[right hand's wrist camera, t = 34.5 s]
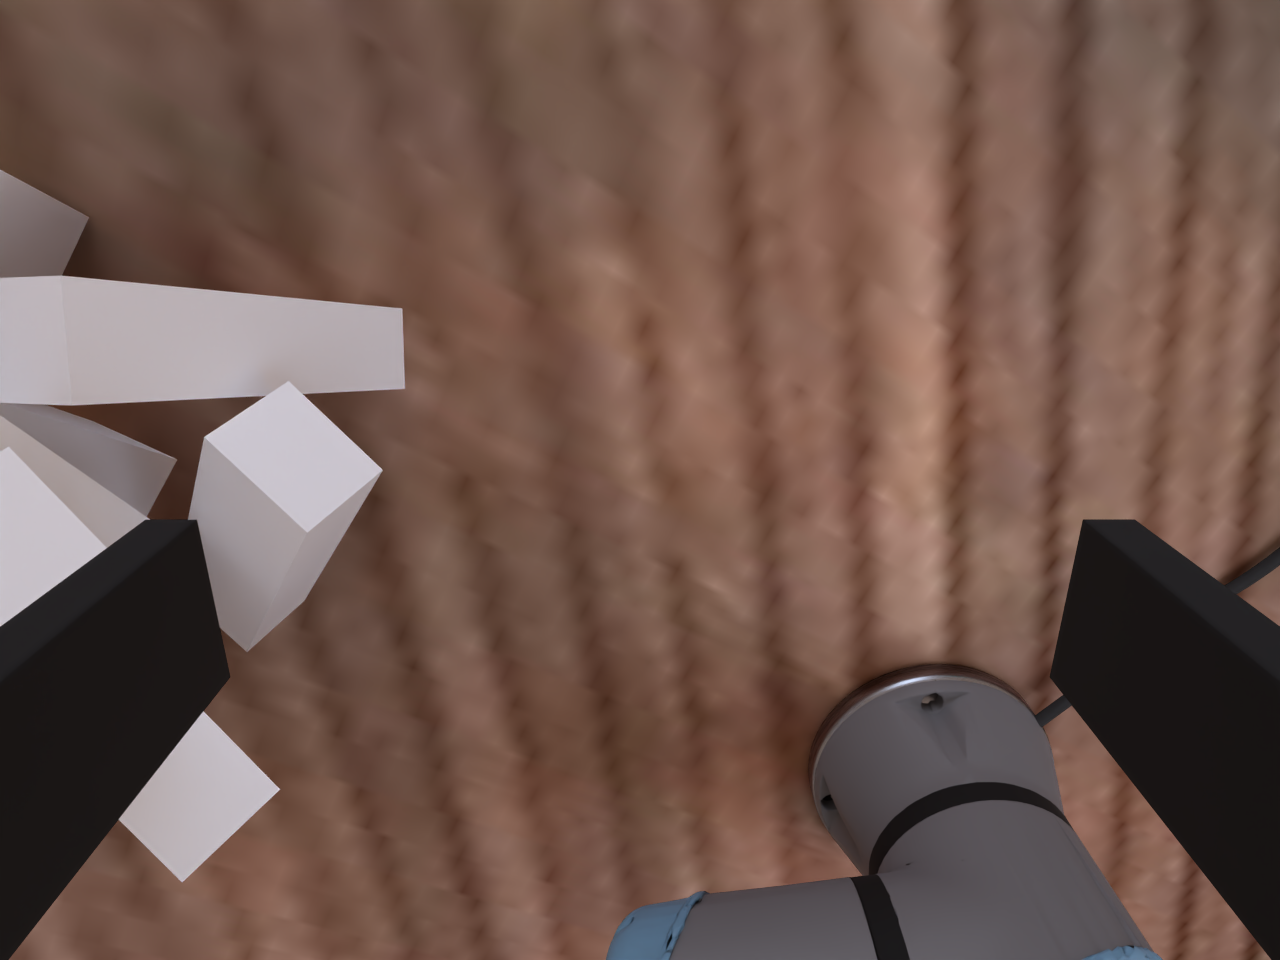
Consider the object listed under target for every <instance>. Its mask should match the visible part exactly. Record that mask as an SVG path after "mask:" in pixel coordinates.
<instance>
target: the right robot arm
mask: <svg viewBox="0 0 1280 960" xmlns="http://www.w3.org/2000/svg"><path fill="white" fill-rule="evenodd" d="M1279 565H1280V547H1279V548H1278V549H1277V550H1276V551H1274V552H1273V553H1272V554H1271V555H1269V556H1268V557H1266V558H1265V559H1264V560H1262V561H1261V562H1260V563H1258V564H1257V565H1255V566H1254V567H1253V568H1251V569H1250V570H1248V571H1247V572H1245V573H1244V574H1242V575H1241V576H1239V577H1238V578H1236V579H1234V580H1233V581H1231V582H1230V583H1228V584H1226V585H1225V586H1224V585H1223V584H1221V583H1220V582H1219V581H1217V580H1216V579H1214V578H1213V577H1212V576H1210V575H1209V574H1208V573H1206V572H1205V571H1204V570H1202V569H1201V568H1200V567H1198V566H1197V565H1196V564H1194V563H1193V562H1191V561H1190V560H1189V559H1187V558H1186V557H1185V556H1183V555H1182V554H1181V553H1179V552H1178V551H1177V550H1175V549H1174V548H1172V547H1171V546H1170V545H1168V544H1167V543H1166V542H1164V541H1163V540H1162V539H1160V538H1159V537H1158V536H1156V535H1155V534H1153V533H1152V532H1151V531H1149V530H1148V529H1147V528H1145V527H1144V526H1143V525H1141V524H1140V523H1139V522H1137V521H1136V520H1083V522H1082V527H1081V531H1080V536H1079V541H1078V546H1077V550H1076V555H1075V560H1074V564H1073V569H1072V574H1071V579H1070V583H1069V588H1068V593H1067V598H1066V602H1065V607H1064V612H1063V617H1062V621H1061V626H1060V631H1059V636H1058V640H1057V645H1056V650H1055V654H1054V659H1053V664H1052V669H1051V673H1050V678H1051V679H1052V681H1053V682H1054V683H1055V684H1056V686H1057V687H1058V688H1059V689H1060V691H1061V692H1062V693H1063V696H1061V697H1060V698H1058V699H1057V700H1056V701H1054V702H1053V703H1052V704H1050V705H1049V706H1048V707H1046V708H1045V709H1043V710H1042V711H1041V712H1039V713H1038V714H1037V715H1035V714H1034V713H1033V711H1032V710H1031V709H1030V707H1029V706H1028V704H1027V703H1026V702H1025V701H1024V699H1023V698H1022V697H1021V696H1020V695H1019V694H1018V693H1017V692H1016V691H1015V690H1014V689H1013V688H1011V687H1010V686H1009V685H1007V684H1006V683H1004V682H1003V681H1001V680H999V679H998V678H996V677H994V676H992V675H990V674H987V673H985V672H982V671H979V670H976V669H972V668H968V667H963V666H956V665H945V664H934V665H921V666H915V667H909V668H905V669H901V670H897V671H894V672H891V673H888V674H885V675H883V676H880V677H878V678H876V679H874V680H872V681H870V682H868V683H866V684H864V685H863V686H861V687H860V688H858V689H857V690H855V691H853V692H852V693H851V694H850V695H848V696H847V697H846V698H845V699H843V700H842V701H841V702H840V703H839V704H838V705H837V706H836V707H835V708H834V709H833V711H832V712H831V713H830V714H829V715H828V717H827V718H826V719H825V721H824V722H823V724H822V725H821V727H820V729H819V731H818V732H817V735H816V737H815V739H814V742H813V745H812V748H811V752H810V757H809V767H808V771H809V781H810V787H811V790H812V794H813V798H814V801H815V805H816V808H817V811H818V814H819V816H820V818H821V820H822V822H823V824H824V825H825V827H826V828H827V830H828V831H829V833H830V834H831V836H832V837H833V838H834V840H835V841H836V842H837V844H838V845H839V846H840V847H841V849H842V850H843V851H844V852H845V854H846V855H847V856H848V857H849V859H850V860H851V861H852V863H853V864H854V865H855V866H856V868H857V869H858V870H859V871H860V873H861V874H862V875H863V876H859V877H846V878H839V879H831V880H823V881H815V882H808V883H800V884H792V885H783V886H774V887H765V888H756V889H747V890H738V891H729V892H720V893H711V894H710V893H707V892H706V891H700V892H697V893H695V894H693V895H692V896H690V897H689V898H684V899H679V900H674V901H668V902H662V903H657V904H651V905H646V906H642V907H640V908H638V909H636V910H634V911H633V912H631V913H630V914H629V915H628V916H627V917H626V918H625V919H624V920H623V921H622V923H621V924H620V925H619V927H618V929H617V931H616V933H615V935H614V937H613V940H612V941H611V944H610V947H609V950H608V953H607V957H606V960H1162V958H1161V957H1160V956H1159V955H1157V954H1156V953H1154V951H1153V950H1152V948H1151V947H1150V945H1149V944H1148V942H1147V941H1146V939H1145V938H1144V936H1143V935H1142V933H1141V932H1140V930H1139V929H1138V927H1137V926H1136V924H1135V923H1134V921H1133V919H1132V918H1131V916H1130V915H1129V913H1128V912H1127V910H1126V909H1125V907H1124V906H1123V904H1122V903H1121V901H1120V900H1119V898H1118V897H1117V895H1116V894H1115V892H1114V891H1113V889H1112V888H1111V886H1110V884H1109V883H1108V881H1107V880H1106V878H1105V877H1104V875H1103V874H1102V872H1101V871H1100V869H1099V868H1098V866H1097V865H1096V863H1095V862H1094V860H1093V859H1092V857H1091V856H1090V854H1089V852H1088V851H1087V849H1086V848H1085V846H1084V845H1083V843H1082V842H1081V840H1080V839H1079V837H1078V836H1077V834H1076V833H1075V831H1074V830H1073V828H1072V827H1071V825H1070V824H1069V822H1068V820H1067V819H1066V817H1065V816H1064V812H1063V807H1062V801H1061V796H1060V791H1059V786H1058V781H1057V776H1056V772H1055V767H1054V761H1053V755H1052V750H1051V747H1050V743H1049V740H1048V737H1047V735H1046V732H1045V730H1044V728H1043V726H1044V725H1046V724H1047V723H1048V722H1050V721H1051V720H1052V719H1054V718H1055V717H1057V716H1058V715H1059V714H1061V713H1062V712H1063V711H1065V710H1066V709H1067V708H1069V707H1070V706H1073V707H1074V709H1075V710H1076V711H1077V712H1078V714H1079V715H1080V716H1081V718H1082V719H1083V720H1084V721H1085V723H1086V724H1087V725H1088V726H1089V728H1090V729H1091V730H1092V732H1093V733H1094V734H1095V735H1096V737H1097V738H1098V739H1099V740H1100V742H1101V743H1102V744H1103V746H1104V747H1105V748H1106V749H1107V751H1108V752H1109V753H1110V754H1111V756H1112V757H1113V758H1114V760H1115V761H1116V762H1117V763H1118V765H1119V766H1120V767H1121V768H1122V770H1123V771H1124V772H1125V774H1126V775H1127V776H1128V777H1129V779H1130V780H1131V781H1132V783H1133V784H1134V785H1135V786H1136V788H1137V789H1138V790H1139V791H1140V793H1141V794H1142V795H1143V797H1144V798H1145V799H1146V800H1147V802H1148V803H1149V804H1150V805H1151V807H1152V808H1153V809H1154V811H1155V812H1156V813H1157V814H1158V816H1159V817H1160V818H1161V819H1162V821H1163V822H1164V823H1165V825H1166V826H1167V827H1168V828H1169V830H1170V831H1171V832H1172V833H1173V835H1174V836H1175V837H1176V839H1177V840H1178V841H1179V842H1180V844H1181V845H1182V846H1183V848H1184V849H1185V850H1186V851H1187V853H1188V854H1189V855H1190V856H1191V858H1192V859H1193V860H1194V862H1195V863H1196V864H1197V865H1198V867H1199V868H1200V869H1201V870H1202V872H1203V873H1204V874H1205V876H1206V877H1207V878H1208V879H1209V881H1210V882H1211V883H1212V884H1213V886H1214V887H1215V888H1216V890H1217V891H1218V892H1219V893H1220V895H1221V896H1222V897H1223V898H1224V900H1225V901H1226V902H1227V904H1228V905H1229V906H1230V907H1231V909H1232V910H1233V911H1234V913H1235V914H1236V915H1237V916H1238V918H1239V919H1240V920H1241V921H1242V923H1243V924H1244V925H1245V927H1246V928H1247V929H1248V930H1249V932H1250V933H1251V934H1252V935H1253V937H1254V938H1255V939H1256V941H1257V942H1258V943H1259V944H1260V946H1261V947H1262V948H1263V949H1264V951H1265V952H1266V953H1267V955H1268V956H1269V957H1270V958H1271V960H1280V626H1278V625H1277V624H1276V623H1274V622H1273V621H1271V620H1270V619H1269V618H1267V617H1266V616H1265V615H1263V614H1262V613H1261V612H1259V611H1258V610H1257V609H1255V608H1254V607H1252V606H1251V605H1250V604H1248V603H1247V602H1246V601H1244V600H1243V599H1242V598H1240V597H1239V596H1238V595H1236V594H1238V593H1239V592H1241V591H1243V590H1244V589H1246V588H1247V587H1249V586H1251V585H1252V584H1254V583H1255V582H1257V581H1258V580H1260V579H1261V578H1263V577H1264V576H1265V575H1267V574H1268V573H1270V572H1271V571H1273V570H1274V569H1275V568H1277V567H1278V566H1279ZM229 678H230V673H229V669H228V664H227V659H226V654H225V650H224V645H223V640H222V636H221V631H220V626H219V621H218V617H217V612H216V607H215V602H214V598H213V593H212V588H211V583H210V579H209V574H208V569H207V564H206V560H205V555H204V550H203V546H202V541H201V536H200V531H199V527H198V522H197V520H144V521H143V522H141V523H140V524H139V525H137V526H136V527H135V528H133V529H132V530H131V531H129V532H128V533H127V534H125V535H124V536H122V537H121V538H120V539H118V540H117V541H116V542H114V543H113V544H112V545H110V546H109V547H108V548H106V549H105V550H103V551H102V552H101V553H99V554H98V555H97V556H95V557H94V558H93V559H91V560H90V561H89V562H87V563H86V564H84V565H83V566H82V567H80V568H79V569H78V570H76V571H75V572H74V573H72V574H71V575H70V576H68V577H67V578H66V579H64V580H63V581H61V582H60V583H59V584H57V585H56V586H55V587H53V588H52V589H51V590H49V591H48V592H47V593H45V594H44V595H42V596H41V597H40V598H38V599H37V600H36V601H34V602H33V603H32V604H30V605H29V606H28V607H26V608H25V609H23V610H22V611H21V612H19V613H18V614H17V615H15V616H14V617H13V618H11V619H10V620H9V621H7V622H6V623H4V624H3V625H2V626H0V960H9V958H10V957H11V956H12V955H13V953H14V952H15V951H16V949H17V948H18V947H19V946H20V944H21V943H22V942H23V941H24V939H25V938H26V937H27V935H28V934H29V933H30V932H31V930H32V929H33V928H34V927H35V925H36V924H37V923H38V921H39V920H40V919H41V918H42V916H43V915H44V914H45V913H46V911H47V910H48V909H49V907H50V906H51V905H52V904H53V902H54V901H55V900H56V898H57V897H58V896H59V895H60V893H61V892H62V891H63V890H64V888H65V887H66V886H67V884H68V883H69V882H70V881H71V879H72V878H73V877H74V876H75V874H76V873H77V872H78V870H79V869H80V868H81V867H82V865H83V864H84V863H85V862H86V860H87V859H88V858H89V856H90V855H91V854H92V853H93V851H94V850H95V849H96V848H97V846H98V845H99V844H100V842H101V841H102V840H103V839H104V837H105V836H106V835H107V833H108V832H109V831H110V830H111V828H112V827H113V826H114V825H115V823H116V822H117V821H118V819H119V818H120V817H121V816H122V814H123V813H124V812H125V811H126V809H127V808H128V807H129V805H130V804H131V803H132V802H133V800H134V799H135V798H136V797H137V795H138V794H139V793H140V791H141V790H142V789H143V788H144V786H145V785H146V784H147V783H148V781H149V780H150V779H151V777H152V776H153V775H154V774H155V772H156V771H157V770H158V768H159V767H160V766H161V765H162V763H163V762H164V761H165V760H166V758H167V757H168V756H169V754H170V753H171V752H172V751H173V749H174V748H175V747H176V746H177V744H178V743H179V742H180V740H181V739H182V738H183V737H184V735H185V734H186V733H187V732H188V730H189V729H190V728H191V726H192V725H193V724H194V723H195V721H196V720H197V719H198V718H199V716H200V715H201V714H202V712H203V711H204V710H205V709H206V707H207V706H208V705H209V704H210V702H211V701H212V700H213V698H214V697H215V696H216V695H217V693H218V692H219V691H220V689H221V688H222V687H223V686H224V684H225V683H226V682H227V681H228V679H229Z"/></svg>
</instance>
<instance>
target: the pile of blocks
mask: <svg viewBox="0 0 1280 960" xmlns="http://www.w3.org/2000/svg"><path fill="white" fill-rule="evenodd" d="M88 219H89V217H88V216H86V215H84V214H82V213H80V212H79V211H77V210H75V209H73V208H71V207H69V206H67V205H66V204H64V203H62V202H60V201H58V200H56V199H54V198H52V197H51V196H49V195H47V194H45V193H43V192H41V191H39V190H38V189H36V188H34V187H32V186H30V185H28V184H26V183H24V182H23V181H21V180H19V179H17V178H15V177H13V176H11V175H9V174H8V173H6V172H4V171H2V170H0V626H2V625H3V624H4V623H6V622H7V621H9V620H10V619H11V618H13V617H14V616H15V615H17V614H18V613H19V612H21V611H22V610H23V609H25V608H26V607H28V606H29V605H30V604H32V603H33V602H34V601H36V600H37V599H38V598H40V597H41V596H42V595H44V594H45V593H47V592H48V591H49V590H51V589H52V588H53V587H55V586H56V585H57V584H59V583H60V582H61V581H63V580H64V579H66V578H67V577H68V576H70V575H71V574H72V573H74V572H75V571H76V570H78V569H79V568H80V567H82V566H83V565H84V564H86V563H87V562H89V561H90V560H91V559H93V558H94V557H95V556H97V555H98V554H99V553H101V552H102V551H103V550H105V549H106V548H108V547H109V546H110V545H112V544H113V543H114V542H116V541H117V540H118V539H120V538H121V537H122V536H124V535H125V534H127V533H128V532H129V531H131V530H132V529H133V528H135V527H136V526H137V525H139V524H140V523H141V522H143V521H144V520H150V519H149V518H147V515H148V513H149V511H150V509H151V508H152V506H153V504H154V502H155V500H156V498H157V496H158V495H159V493H160V491H161V489H162V487H163V485H164V484H165V482H166V480H167V478H168V476H169V474H170V472H171V471H172V469H173V467H174V465H175V463H176V461H177V459H175V458H173V457H171V456H169V455H166V454H164V453H162V452H160V451H158V450H155V449H153V448H151V447H149V446H147V445H144V444H142V443H140V442H138V441H136V440H133V439H131V438H129V437H127V436H125V435H122V434H120V433H118V432H116V431H114V430H111V429H109V428H107V427H105V426H103V425H100V424H98V423H96V422H94V421H91V420H88V419H85V418H82V417H80V416H77V415H74V414H71V413H68V412H65V411H62V410H59V409H56V408H53V407H51V406H48V405H91V404H111V403H131V402H151V401H171V400H191V399H211V398H231V397H251V396H265V397H264V398H262V399H261V400H259V401H258V402H256V403H255V404H253V405H252V406H250V407H249V408H247V409H246V410H244V411H243V412H241V413H240V414H238V415H237V416H235V417H234V418H232V419H231V420H229V421H228V422H226V423H225V424H223V425H222V426H220V427H219V428H217V429H216V430H214V431H213V432H211V433H210V434H208V435H206V436H205V437H204V441H203V446H202V451H201V456H200V461H199V466H198V471H197V476H196V481H195V486H194V491H193V496H192V501H191V506H190V511H189V516H188V520H197V522H198V527H199V531H200V536H201V541H202V546H203V550H204V555H205V560H206V564H207V569H208V574H209V579H210V583H211V588H212V593H213V598H214V602H215V607H216V612H217V617H218V621H219V626H220V628H221V629H222V630H223V631H224V632H225V633H226V634H228V635H229V636H230V637H231V638H232V639H233V640H234V641H235V642H236V643H237V644H239V645H240V646H241V647H242V648H243V649H244V650H245V651H246V652H248V651H249V650H250V649H251V648H252V647H253V646H254V645H256V644H257V643H258V642H259V641H260V640H261V639H262V638H263V637H265V636H266V635H267V634H268V633H269V632H270V631H271V630H272V629H273V628H275V627H276V626H277V625H278V624H279V623H280V622H281V621H282V620H284V619H285V618H286V617H287V616H288V615H289V614H290V613H291V612H292V611H294V610H295V609H296V608H297V607H298V606H299V605H300V604H301V603H302V602H304V601H305V599H306V597H307V596H308V594H309V592H310V591H311V589H312V587H313V586H314V584H315V582H316V581H317V579H318V577H319V576H320V574H321V572H322V571H323V569H324V567H325V566H326V564H327V562H328V561H329V559H330V557H331V556H332V554H333V552H334V551H335V549H336V547H337V546H338V544H339V542H340V541H341V539H342V537H343V536H344V534H345V532H346V531H347V529H348V527H349V526H350V524H351V522H352V521H353V519H354V517H355V516H356V514H357V512H358V511H359V509H360V507H361V506H362V504H363V502H364V501H365V499H366V497H367V496H368V494H369V492H370V491H371V489H372V487H373V486H374V484H375V482H376V481H377V479H378V477H379V476H380V474H381V472H382V471H383V470H382V469H381V468H380V467H379V466H378V465H377V464H376V463H375V462H374V461H373V460H372V459H371V458H370V457H368V456H367V455H366V454H365V453H364V452H363V451H362V450H361V449H360V448H359V447H358V446H357V445H356V444H355V443H354V442H353V441H352V440H350V439H349V438H348V437H347V436H346V435H345V434H344V433H343V432H342V431H341V430H340V429H339V428H338V427H337V426H336V425H335V424H334V423H333V422H331V421H330V420H329V419H328V418H327V417H326V416H325V415H324V414H323V413H322V412H321V411H320V410H319V409H318V408H317V407H316V406H315V405H313V404H312V403H311V402H310V401H309V400H308V399H307V398H306V397H305V396H304V395H303V394H311V393H331V392H351V391H371V390H391V389H405V376H404V346H403V316H402V309H401V308H391V307H381V306H370V305H360V304H350V303H339V302H329V301H319V300H308V299H298V298H288V297H277V296H267V295H257V294H246V293H236V292H226V291H215V290H205V289H195V288H184V287H174V286H164V285H153V284H143V283H133V282H122V281H112V280H101V279H91V278H81V277H70V276H62V274H63V272H64V270H65V268H66V266H67V264H68V262H69V259H70V257H71V255H72V253H73V251H74V249H75V247H76V245H77V242H78V240H79V238H80V236H81V234H82V232H83V230H84V228H85V225H86V223H87V221H88ZM45 404H47V405H45ZM279 790H280V789H279V788H278V787H277V786H276V785H275V784H274V783H273V782H272V781H271V780H270V779H269V778H268V777H267V776H266V775H265V774H264V773H263V772H262V771H261V770H260V769H259V768H258V767H257V765H256V764H255V763H254V762H253V761H252V760H251V759H250V758H249V757H248V756H247V755H246V754H245V753H244V752H243V751H242V750H241V749H240V748H239V747H238V746H237V745H236V744H235V743H234V742H233V741H232V740H231V739H230V738H229V737H228V736H227V735H226V734H225V733H224V732H223V731H222V730H221V729H220V728H219V727H218V726H217V725H216V724H215V723H214V722H213V721H212V720H211V718H210V717H209V716H208V715H207V714H206V713H205V712H204V711H203V712H202V714H201V715H200V716H199V718H198V719H197V720H196V721H195V723H194V724H193V725H192V726H191V728H190V729H189V730H188V732H187V733H186V734H185V735H184V737H183V738H182V739H181V740H180V742H179V743H178V744H177V746H176V747H175V748H174V749H173V751H172V752H171V753H170V754H169V756H168V757H167V758H166V760H165V761H164V762H163V763H162V765H161V766H160V767H159V768H158V770H157V771H156V772H155V774H154V775H153V776H152V777H151V779H150V780H149V781H148V783H147V784H146V785H145V786H144V788H143V789H142V790H141V791H140V793H139V794H138V795H137V797H136V798H135V799H134V800H133V802H132V803H131V804H130V805H129V807H128V808H127V809H126V811H125V812H124V813H123V814H122V816H121V817H120V818H119V820H120V821H121V822H122V823H123V824H124V825H125V826H126V827H127V828H128V829H129V830H130V831H131V832H132V833H133V834H134V835H135V836H136V837H137V838H138V839H139V840H140V841H141V842H142V843H143V844H144V845H145V846H146V847H147V848H148V849H149V850H150V851H151V852H152V853H153V854H154V855H155V856H156V857H157V858H158V859H159V860H160V861H161V862H162V863H163V864H164V865H165V866H166V867H167V868H168V869H169V870H170V871H171V872H172V873H173V874H174V875H175V876H176V877H177V878H178V879H179V880H180V881H181V882H183V881H184V880H185V879H186V878H187V877H188V876H189V875H190V874H191V873H193V872H194V871H195V870H196V869H197V868H198V867H199V866H200V865H201V864H202V863H203V862H204V861H205V860H206V859H207V858H208V857H209V856H210V855H211V854H213V853H214V852H215V851H216V850H217V849H218V848H219V847H220V846H221V845H222V844H223V843H224V842H225V841H226V840H227V839H228V838H229V837H230V836H231V835H233V834H234V833H235V832H236V831H237V830H238V829H239V828H240V827H241V826H242V825H243V824H244V823H245V822H246V821H247V820H248V819H249V818H250V817H251V816H253V815H254V814H255V813H256V812H257V811H258V810H259V809H260V808H261V807H262V806H263V805H264V804H265V803H266V802H267V801H268V800H269V799H270V798H271V797H273V796H274V795H275V794H276V793H277V792H278V791H279Z"/></svg>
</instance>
